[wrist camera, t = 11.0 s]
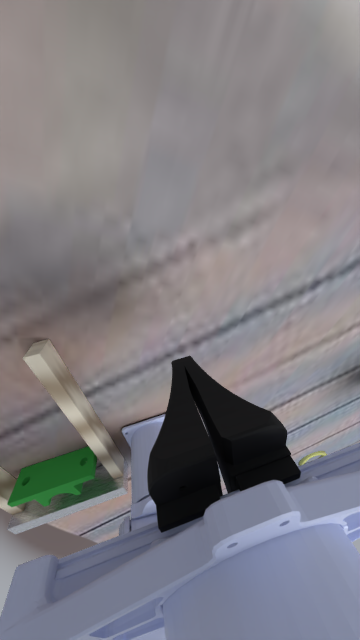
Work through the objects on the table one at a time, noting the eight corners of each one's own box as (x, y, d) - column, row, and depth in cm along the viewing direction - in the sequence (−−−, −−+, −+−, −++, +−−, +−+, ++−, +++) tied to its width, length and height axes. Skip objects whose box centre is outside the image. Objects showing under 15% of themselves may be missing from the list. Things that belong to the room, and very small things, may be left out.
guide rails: (123, 458, 32) (123, 475, 30) (20, 494, 31) (12, 515, 28) (48, 338, 20) (39, 353, 18) (-127, 386, 19) (-160, 408, 17)
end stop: (127, 464, 33) (127, 493, 30) (27, 499, 32) (15, 534, 28) (123, 458, 32) (123, 487, 29) (20, 494, 31) (6, 529, 27)
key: (301, 477, 55) (307, 486, 53) (296, 458, 49) (302, 468, 47) (325, 464, 55) (331, 473, 53) (322, 444, 48) (330, 453, 47)
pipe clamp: (35, 478, 30) (22, 514, 26) (22, 466, 28) (6, 504, 25) (104, 455, 31) (101, 487, 27) (96, 442, 29) (91, 475, 26)
